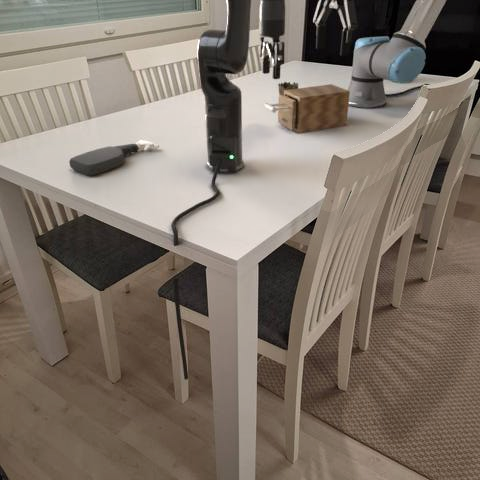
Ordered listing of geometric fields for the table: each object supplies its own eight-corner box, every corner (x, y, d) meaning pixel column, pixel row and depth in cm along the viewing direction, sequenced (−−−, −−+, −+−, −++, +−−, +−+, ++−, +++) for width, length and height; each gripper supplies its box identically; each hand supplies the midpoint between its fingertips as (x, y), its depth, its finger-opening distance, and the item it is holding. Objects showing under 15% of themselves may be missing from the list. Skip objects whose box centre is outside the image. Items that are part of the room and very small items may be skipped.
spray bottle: (67, 168, 120) (139, 144, 136) (91, 178, 114) (163, 151, 130) (65, 157, 118) (137, 134, 134) (89, 167, 112) (162, 142, 128)
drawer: (274, 133, 139) (275, 103, 134) (261, 124, 146) (261, 96, 141) (336, 123, 146) (339, 95, 142) (321, 115, 154) (323, 88, 149)
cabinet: (298, 133, 142) (300, 97, 136) (282, 123, 150) (283, 90, 144) (346, 125, 148) (350, 91, 142) (328, 116, 156) (331, 84, 150)
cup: (274, 107, 166) (275, 85, 162) (282, 102, 172) (282, 80, 168) (293, 109, 163) (294, 87, 159) (300, 104, 169) (301, 82, 165)
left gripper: (294, 19, 123) (291, 79, 132) (274, 14, 135) (273, 70, 144) (269, 20, 122) (268, 82, 130) (251, 15, 133) (251, 72, 142)
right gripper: (377, -29, 117) (366, 56, 129) (325, -30, 137) (320, 44, 148) (353, -28, 115) (344, 59, 126) (304, -29, 135) (300, 46, 146)
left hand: (271, 76), depth 137 cm, fingers open, 8 cm apart
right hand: (331, 51), depth 137 cm, fingers open, 13 cm apart
